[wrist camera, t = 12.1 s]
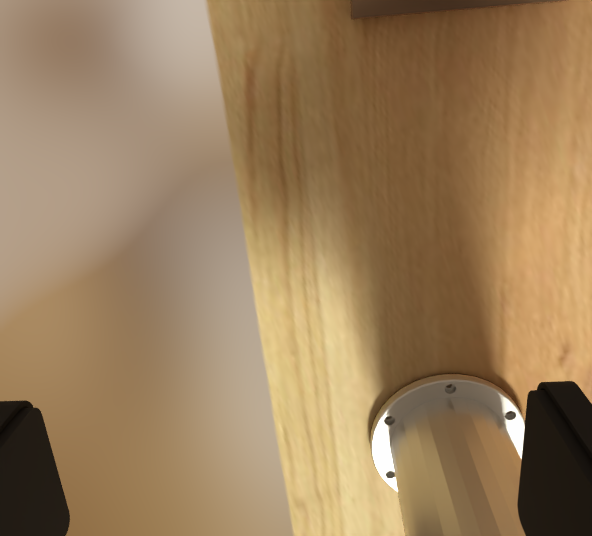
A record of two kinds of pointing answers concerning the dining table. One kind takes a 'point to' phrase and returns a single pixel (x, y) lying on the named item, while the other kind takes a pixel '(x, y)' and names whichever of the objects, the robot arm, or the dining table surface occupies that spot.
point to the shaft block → (425, 6)
